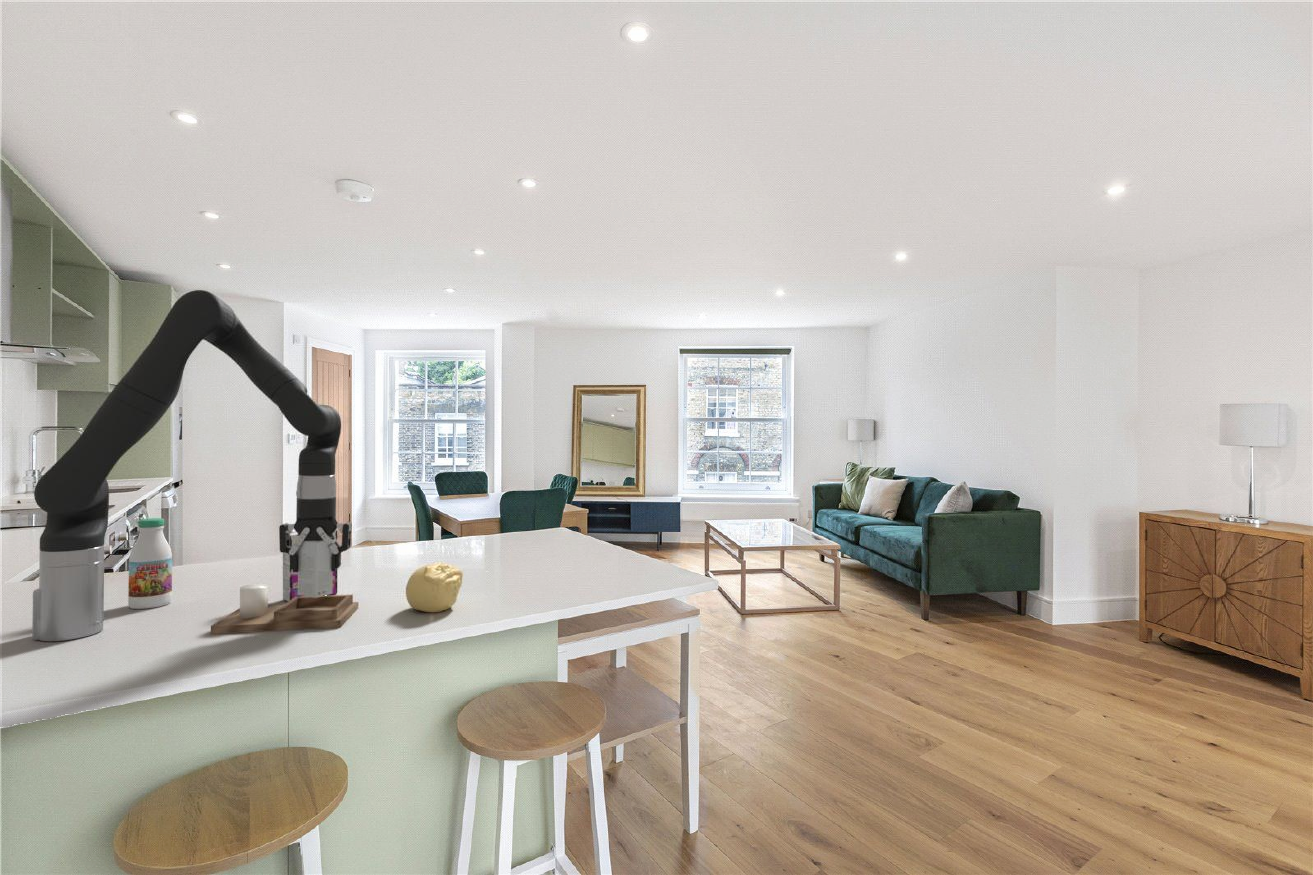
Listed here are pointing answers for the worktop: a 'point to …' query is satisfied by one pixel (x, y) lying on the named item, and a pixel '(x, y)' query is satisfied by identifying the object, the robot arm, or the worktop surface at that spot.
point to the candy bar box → (292, 577)
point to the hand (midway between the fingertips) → (315, 570)
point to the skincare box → (314, 569)
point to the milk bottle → (150, 567)
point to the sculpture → (434, 587)
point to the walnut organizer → (285, 612)
